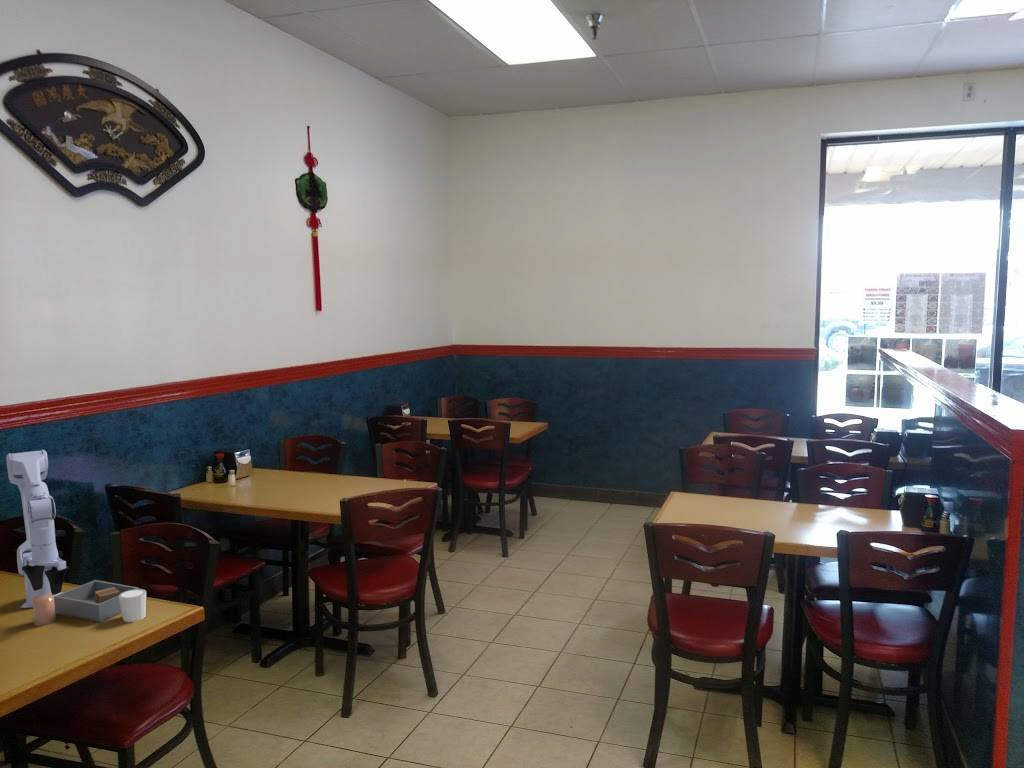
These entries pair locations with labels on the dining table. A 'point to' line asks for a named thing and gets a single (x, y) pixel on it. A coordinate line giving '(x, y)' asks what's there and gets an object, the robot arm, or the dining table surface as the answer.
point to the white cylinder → (133, 604)
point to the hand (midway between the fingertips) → (47, 591)
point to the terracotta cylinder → (44, 609)
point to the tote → (89, 601)
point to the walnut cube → (105, 594)
